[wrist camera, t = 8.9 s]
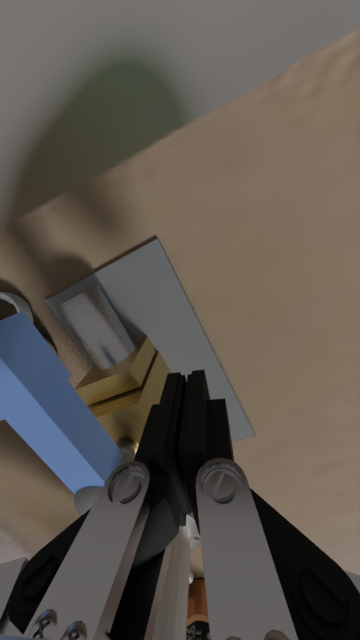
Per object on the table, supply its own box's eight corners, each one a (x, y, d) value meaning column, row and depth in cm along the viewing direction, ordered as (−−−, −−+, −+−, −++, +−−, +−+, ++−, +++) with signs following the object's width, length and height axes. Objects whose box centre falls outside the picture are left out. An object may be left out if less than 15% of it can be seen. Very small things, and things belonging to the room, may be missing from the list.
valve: (210, 439, 24) (212, 535, 16) (166, 450, 26) (150, 543, 18) (114, 276, 18) (50, 308, 11) (64, 302, 20) (-24, 347, 12)
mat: (255, 433, 23) (255, 436, 23) (158, 457, 27) (158, 459, 26) (158, 238, 17) (157, 238, 17) (46, 299, 20) (44, 300, 20)
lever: (27, 308, 10) (-18, 327, 8) (155, 482, 14) (146, 525, 12) (-22, 333, 11) (-74, 357, 9) (111, 491, 15) (95, 532, 13)
